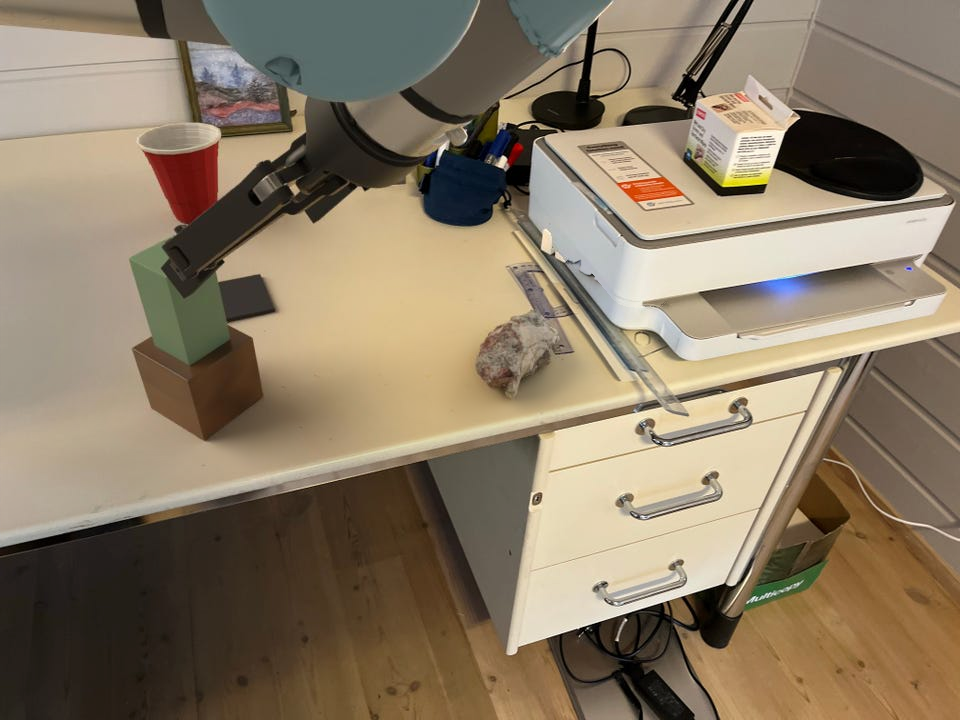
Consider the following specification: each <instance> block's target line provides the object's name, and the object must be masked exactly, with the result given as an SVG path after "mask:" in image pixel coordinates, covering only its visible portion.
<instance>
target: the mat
mask: <svg viewBox="0 0 960 720" xmlns="http://www.w3.org/2000/svg"><path fill="white" fill-rule="evenodd" d="M218 284H219V288H220V293H221V298H222V302H223V307H224V312H225V316H226V321H227V323H229V322H233V321H238V320H243V319H248V318H253V317H257V316H261V315H267V314H271V313H276V309H275V306H274V304H273V301H272V299H271V296H270V294H269V292H268V289H267V287H266V284H265V282H264V279H263V277H262V275H261V273H257V274H252V275H246V276H242V277H237V278H232V279H231V278H230V279H227V280H221V281H218Z"/></svg>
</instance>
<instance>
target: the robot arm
mask: <svg viewBox="0 0 960 720" xmlns="http://www.w3.org/2000/svg"><path fill="white" fill-rule="evenodd" d="M614 1H615V0H0V26H6V27H18V28H29V29H43V30H52V31H53V30H54V31H65V32H77V33H90V34H100V35H112V36H124V37H134V38H136V37H137V38H148V39H161V40H173V41H181V42H190V43H200V44H210V45H219V46H227V47H231V48H232V49H233V50H234V51H235V52H236V53H237V54H238V56H240V57H241V58H242V60H244V61H245V62H246V63H247V64H249V65H250V66H252V67H253V68H254V69H255V70H257V71H259V72H260V73H262V75H264V76H266V77H267V78H269V79H270V80H271V81H273V82H274V83H277V84H279V85H280V86H283V87H285V88H288V89H289V90H291V91H294V92H297V93H298V94H301V95H304V96H306V99H305V104H304V111H303V112H304V125H305V132H304V133H302V134H301V135H299V136H298V137H296V138H295V139H294V140H293V141H292V142H291V143H290V147H289V149H288V150H286V151H285V152H284V153H282V154H281V155H279V156H278V157H276V158H275V159H274V160H272V161H271V159H265V160H262V161H261V160H260V162H258V163H256V165H255V167H254V168H253V169H252V170H251V171H250V172H249V173H248V174H247V175H246V176H245V177H244V178H243V179H242V180H241V181H240V182H239V183H238V184H236V185H235V186H234V187H233V188H231V189H230V190H229V191H228V192H227V193H226V194H224V195H223V196H222V197H221V198H219V199H218V201H217V202H216V203H215V204H213V205H212V206H211V207H210V208H208V209H207V210H206V211H205V212H203V213H202V214H201V215H200V216H199V217H197V218H196V219H195V220H194V221H192V222H191V223H190V224H186V223H184V224H178V225H177V226H175V227H174V228H173V231H174V233H176V234H174V235H175V236H174V237H173V238H171V239H169V240H167V241H166V242H165V244H164V245H162V247H161V248H162V249H163V250H164V252H165V253H166V254H167V256H168V257H169V259H168V260H167V261H166V262H165V264H164V265H163V266H162V267H161V270H162V271H163V272H164V273H165V275H166V276H167V277H168V279H169V280H170V281H171V283H172V284H173V285H174V287H175V288H176V289H177V291H178V292H179V293H180V294H181V296H182V297H183V298H184V299H185V298H186V297H188V296H190V295H192V294H193V293H194V292H195V291H196V290H197V289H198V288H199V287H200V286H201V285H202V284H203V283H204V282H205V281H206V280H207V279H208V278H209V277H210V276H211V275H212V274H213V273H214V272H216V273H217V271H218V270H219V269H220V268H221V267H223V265H224V264H225V263H226V261H225V260H224V259H225V258H227V257H229V255H231V254H232V253H234V252H236V250H238V249H239V248H240V247H242V246H244V245H245V244H246V243H248V242H249V241H250V240H252V239H254V238H255V237H256V236H257V235H259V234H260V233H262V232H263V231H264V230H266V229H267V228H269V227H270V226H271V225H273V224H274V223H275V222H277V221H279V220H280V219H281V218H283V217H284V216H285V215H290V216H297V215H300V214H302V213H303V212H304V213H305V214H306V216H307V217H308V219H309V220H310V221H311V223H312V224H316V223H317V222H319V221H321V219H323V218H324V217H325V216H326V215H328V214H329V213H330V212H331V211H332V210H334V208H336V206H338V205H339V204H340V203H341V202H342V201H344V200H345V199H346V198H347V197H348V196H349V195H350V194H352V193H353V192H354V191H355V190H356V189H357V188H358V186H360V187H361V188H362V190H363V191H364V192H367V191H369V190H370V189H385V188H388V187H392V186H394V185H396V184H398V183H399V182H401V181H402V180H403V179H404V178H405V177H407V176H408V175H409V174H410V173H411V172H413V171H414V170H416V169H417V168H418V167H419V166H420V165H421V164H423V163H425V162H426V160H427V159H429V157H430V156H431V155H432V154H433V153H434V152H436V151H437V150H438V149H439V148H441V147H442V146H443V145H445V144H446V143H447V142H448V141H450V143H451V144H452V145H454V147H460V146H462V145H464V144H465V143H466V142H467V140H468V137H469V136H468V134H467V132H466V130H465V129H464V127H465V126H468V125H469V124H470V123H472V122H473V121H474V120H476V119H477V118H478V117H479V116H480V115H481V114H484V113H485V112H486V111H487V110H488V109H490V108H491V107H492V106H493V105H495V104H496V103H497V102H499V101H500V100H501V99H502V98H504V97H505V96H507V95H508V94H509V93H510V92H512V90H514V89H515V88H517V87H518V86H519V85H520V84H521V83H522V82H524V81H525V80H526V79H528V78H529V77H530V76H531V75H533V74H534V73H535V72H536V71H538V70H539V69H540V68H541V67H543V66H544V65H545V64H546V63H548V62H549V61H550V60H551V59H556V58H557V57H559V56H560V55H562V54H564V53H565V52H566V50H567V48H568V47H569V46H570V45H571V44H572V43H573V42H574V41H575V40H576V39H577V38H578V37H579V36H580V35H582V34H583V33H584V32H585V31H586V30H587V29H588V28H589V27H590V26H591V25H593V24H594V23H595V21H597V20H598V18H599V17H600V16H601V15H602V14H603V13H604V12H605V11H606V10H607V9H608V8H609V7H610V6H611V4H613V2H614ZM294 185H295V186H296V188H297V189H298V192H297V193H296V194H294V192H293V190H291V187H292V186H294Z"/></svg>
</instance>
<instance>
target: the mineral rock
mask: <svg viewBox="0 0 960 720" xmlns="http://www.w3.org/2000/svg"><path fill="white" fill-rule="evenodd" d="M560 339H561V337H560V335H559V331H558V330H557V329H556V327H552V326H551V325H550V324H549V321H548V320H547V319H546V318H545V317H544V316H543V315H542V314H541V313H540V310H539V309H538V308H536V309H530V310H529V311H528V312H526V313H524V314H520V315H514V316H511V317H510V318H509V320H508V321H506V322H504V323H502V324H499V325H497V326H496V327H494V329H493V330H492V331H490V332H488V334H487V336H486V337H485V338H484V341H483V342H482V343H481V344H480V346H479V352H478V355H477V356H476V358H475V361H474V367H475V372H476V374H477V375H478V376H479V377H480V379H481V380H482V381H484V382H486V384H487V386H488V387H489V388H493V389H498V388H500V389H503V391H504V392H505V395H506V398H507V397H508V398H510V399H512V400H514V399H515V398H516V396H517V394H518V392H519V386H520V383H521V379H524V378H526V377H529V376H532V375H533V374H535V373H536V371H537V370H538V369H540V368H543V367H546V366H549V365H550V364H551V363H552V362H551V360H552V355H551V349H552V348H553V346H554V345H555V344H557V343H558V342H559V341H560Z"/></svg>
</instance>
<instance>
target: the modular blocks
mask: <svg viewBox="0 0 960 720" xmlns="http://www.w3.org/2000/svg"><path fill="white" fill-rule="evenodd" d="M540 251H543V252H544V253H546V254H548V255H553V254H554V258H555V259H557V260H558V261H561V262H562V263H567V262H566V261H565V260H564V259H563V257H562V256H561V255H560V254H559V253H558V252H556V248H555V247H554V248H552V236H551V233H550V232H549V231H548V230H547V229H546V228H544V229H542V236H541V245H540Z"/></svg>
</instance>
